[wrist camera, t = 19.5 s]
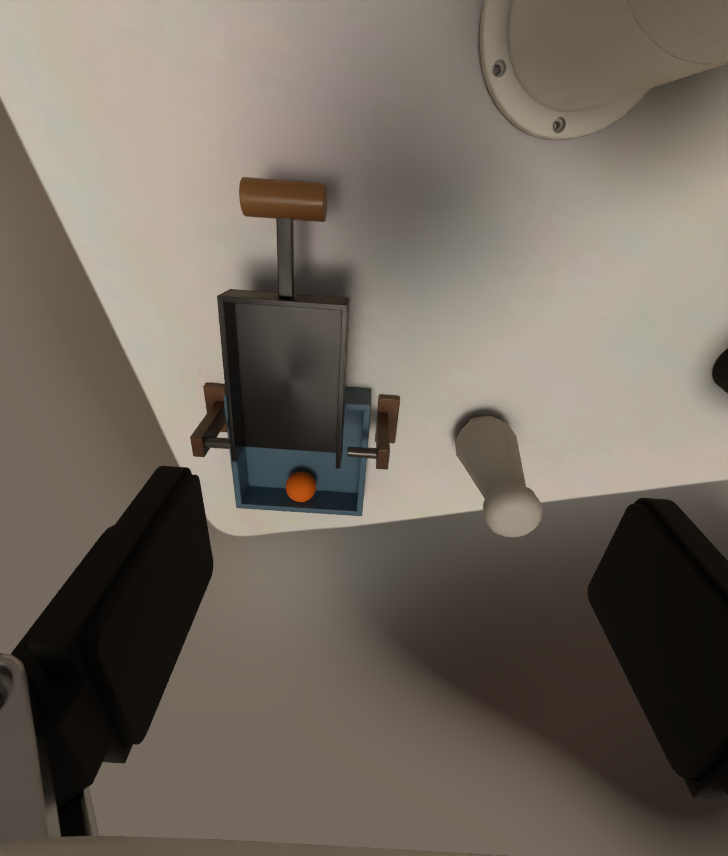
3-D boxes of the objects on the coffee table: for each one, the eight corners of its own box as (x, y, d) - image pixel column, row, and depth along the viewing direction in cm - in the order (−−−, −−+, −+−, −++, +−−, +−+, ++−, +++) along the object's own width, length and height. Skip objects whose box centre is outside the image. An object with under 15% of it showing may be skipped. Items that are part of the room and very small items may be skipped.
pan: (221, 176, 28) (206, 172, 25) (355, 186, 28) (353, 183, 26) (241, 444, 37) (231, 461, 34) (342, 451, 37) (340, 469, 35)
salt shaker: (440, 441, 44) (461, 531, 33) (474, 397, 41) (509, 480, 30) (486, 464, 45) (522, 559, 34) (521, 424, 43) (572, 512, 32)
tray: (234, 379, 41) (223, 395, 38) (371, 388, 41) (370, 405, 38) (245, 487, 48) (236, 508, 45) (363, 494, 48) (362, 516, 45)
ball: (283, 507, 44) (288, 490, 47) (314, 509, 44) (317, 492, 47) (282, 480, 43) (288, 464, 46) (314, 482, 43) (318, 466, 46)
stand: (205, 382, 41) (174, 420, 35) (399, 396, 42) (403, 436, 35) (212, 427, 44) (184, 470, 38) (394, 439, 44) (397, 484, 38)
